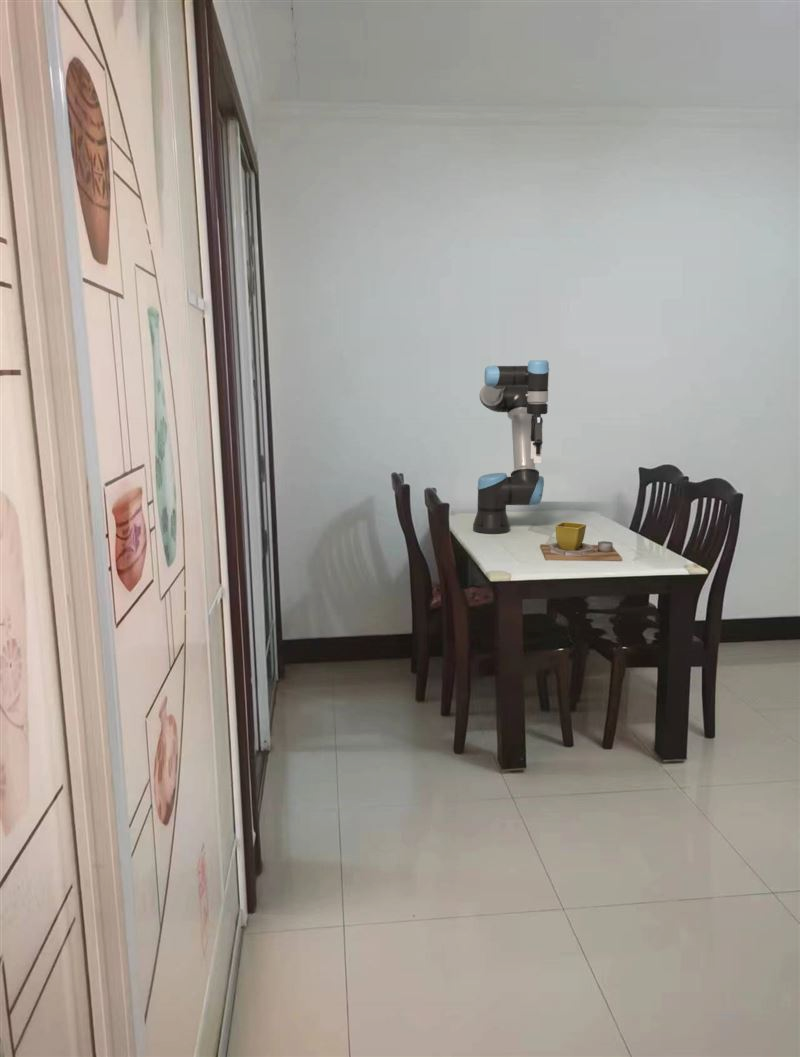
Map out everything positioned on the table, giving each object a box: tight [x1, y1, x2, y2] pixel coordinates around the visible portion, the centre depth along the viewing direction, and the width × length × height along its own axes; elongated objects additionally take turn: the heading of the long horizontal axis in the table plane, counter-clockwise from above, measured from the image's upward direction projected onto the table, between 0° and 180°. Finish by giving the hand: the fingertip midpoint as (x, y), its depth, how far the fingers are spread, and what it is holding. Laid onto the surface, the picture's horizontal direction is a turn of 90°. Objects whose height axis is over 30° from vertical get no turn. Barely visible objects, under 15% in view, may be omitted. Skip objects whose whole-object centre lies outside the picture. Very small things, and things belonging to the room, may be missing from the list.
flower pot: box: [555, 521, 587, 551], centre depth 286 cm, size 9×9×9 cm
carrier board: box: [539, 540, 623, 562], centre depth 285 cm, size 20×26×4 cm
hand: (535, 460), depth 296 cm, fingers open, 13 cm apart
